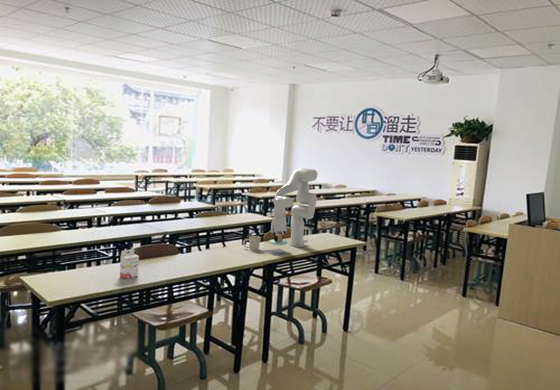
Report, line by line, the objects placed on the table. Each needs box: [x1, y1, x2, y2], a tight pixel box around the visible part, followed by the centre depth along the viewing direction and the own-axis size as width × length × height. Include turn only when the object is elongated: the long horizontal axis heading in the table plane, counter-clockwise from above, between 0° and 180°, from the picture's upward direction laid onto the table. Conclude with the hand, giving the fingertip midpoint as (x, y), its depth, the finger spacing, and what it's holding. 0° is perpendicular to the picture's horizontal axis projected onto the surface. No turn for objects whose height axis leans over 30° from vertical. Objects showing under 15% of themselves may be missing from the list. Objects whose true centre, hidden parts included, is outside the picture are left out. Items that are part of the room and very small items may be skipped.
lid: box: [268, 233, 288, 246], centre depth 318 cm, size 13×13×6 cm
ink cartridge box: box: [119, 248, 140, 279], centre depth 245 cm, size 9×5×15 cm, turn 141°
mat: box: [262, 248, 292, 257], centre depth 318 cm, size 15×15×1 cm
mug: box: [242, 235, 261, 251], centre depth 322 cm, size 8×13×10 cm, turn 89°
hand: (278, 240), depth 318 cm, fingers closed on lid, 4 cm apart
